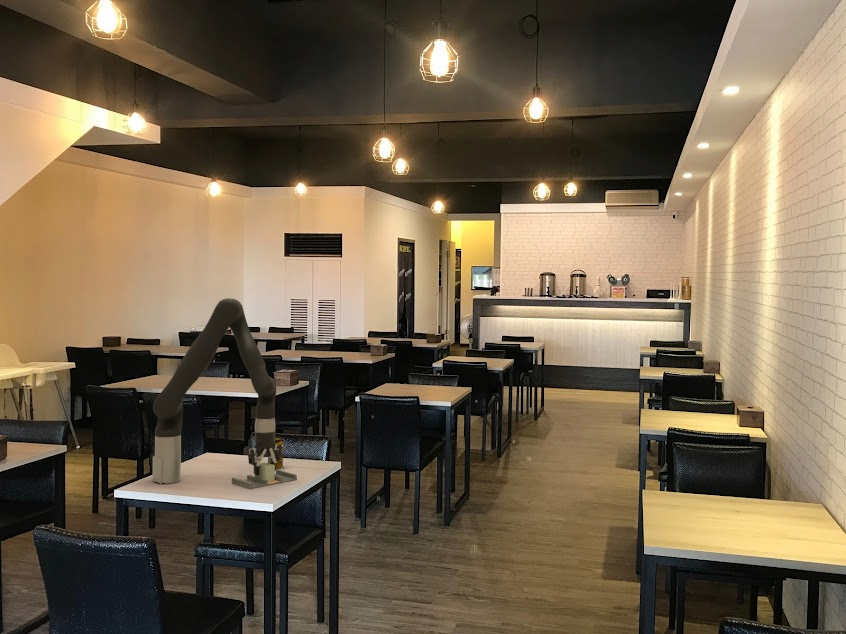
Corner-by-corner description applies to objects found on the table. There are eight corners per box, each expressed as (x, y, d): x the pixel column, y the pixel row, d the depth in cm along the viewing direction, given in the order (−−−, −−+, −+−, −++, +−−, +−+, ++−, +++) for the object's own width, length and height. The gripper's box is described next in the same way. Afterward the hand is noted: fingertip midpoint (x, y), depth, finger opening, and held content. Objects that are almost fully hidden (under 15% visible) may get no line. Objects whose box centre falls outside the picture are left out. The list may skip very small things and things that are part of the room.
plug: (265, 482, 286) (265, 466, 286) (254, 479, 291) (254, 463, 291) (274, 480, 289) (274, 465, 289) (263, 477, 294) (263, 462, 293)
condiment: (287, 468, 313) (287, 438, 313) (269, 471, 308) (269, 441, 307) (277, 465, 319) (277, 436, 318) (259, 468, 313) (259, 438, 312)
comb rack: (250, 489, 278) (250, 483, 278) (231, 483, 286) (231, 477, 286) (296, 479, 293) (296, 474, 293) (277, 474, 301) (278, 469, 301)
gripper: (275, 426, 297) (274, 469, 297) (243, 430, 287) (242, 475, 287) (286, 429, 292) (286, 472, 292) (254, 433, 282) (254, 479, 282)
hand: (264, 474), depth 290 cm, fingers open, 6 cm apart
